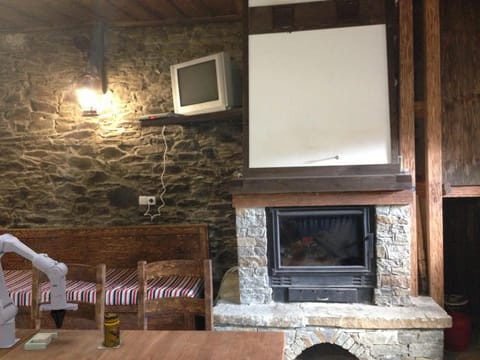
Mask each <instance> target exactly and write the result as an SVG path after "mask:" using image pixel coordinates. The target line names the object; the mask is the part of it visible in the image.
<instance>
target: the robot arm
mask: <svg viewBox="0 0 480 360" xmlns="http://www.w3.org/2000/svg"><path fill="white" fill-rule="evenodd" d="M12 252H13V253H15V254H18V255H19V256H22V257H23V258H25V259H26V260H29V261H31V264H32V266H33V267H35V268H36V269H38V270H39V271H41V272H43V273H44V274H46V276H47V278H48V279H49V281H50V283H49V284H50V303H46V304H40V305H39V312H42V311H50V312H49V315H50V317H52V320H53V321H54V324H55V326H56V329H58V330H59V329H61V328H62V327H63V325H64V320H65V317H66V314H67V312H68V311H71V310H72V311H76V310H78V308H79V305H78V303H71V302H70V303H68V302H67V282H66V278H67V277H66V275H67V274H68V272H69V271H68V269H69V268H68V266H67V265H66V264H65V263H64V262H59V261H57V260H54V259H52V258H51V257H49V256H48V254H47V253H37V252H35V251H34V250H33V249H31V248H30V247H28V246H27V245H25V244H24V243H23V242H21V240H19V239H18V238H17V237H15V236H13V234H11V233H4V234H1V235H0V259H2V257H3V255H4V254H5V253H12ZM8 292H9V291H8V288H7V284H6V280H5V275H4V271H3V267H2V263H1V261H0V349H10V348H12V347H13V346H14V345H15V344H17V343H18V342H19V341H20V340H21V338H16V321H15V319H16V315H17V314H18V306H17V305H16V304H15V302H14V301H15V300H14V299H13V298H12V297H10V296H9V293H8Z"/></svg>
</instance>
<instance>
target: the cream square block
mask: <svg viewBox="0 0 480 360" xmlns="http://www.w3.org/2000/svg"><path fill="white" fill-rule="evenodd" d="M51 342H52V338H51V334H39V335H38V336H37V337H35V338H34V339H33V343H46V347H47V346H48V345H49V344H50V343H51Z"/></svg>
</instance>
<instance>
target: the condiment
mask: <svg viewBox="0 0 480 360" xmlns="http://www.w3.org/2000/svg"><path fill="white" fill-rule="evenodd" d="M103 320H104V322H103V340H100V342H99V345H97V350H102V349H103V350H105V349H116V348H117V349H118V348H121V345H122V342H123V339H121V329H120V325H121V324H120V323H121V322H120V320H119V314H118V313H117V312H109V313H106V314H105V315H104V319H103Z"/></svg>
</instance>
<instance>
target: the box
mask: <svg viewBox="0 0 480 360" xmlns="http://www.w3.org/2000/svg"><path fill="white" fill-rule="evenodd" d="M39 334H51V339H57V338H58V332H37V333H36V334H35V335H34V336H33V337H32V338H31V339H30V340H28V341H27V342H26V343H24V345H23V346H24V351H25V350H27V351H28V350H46V349H47V346H46V343H33V339H34V338H35V337H37V336H38V335H39Z"/></svg>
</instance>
